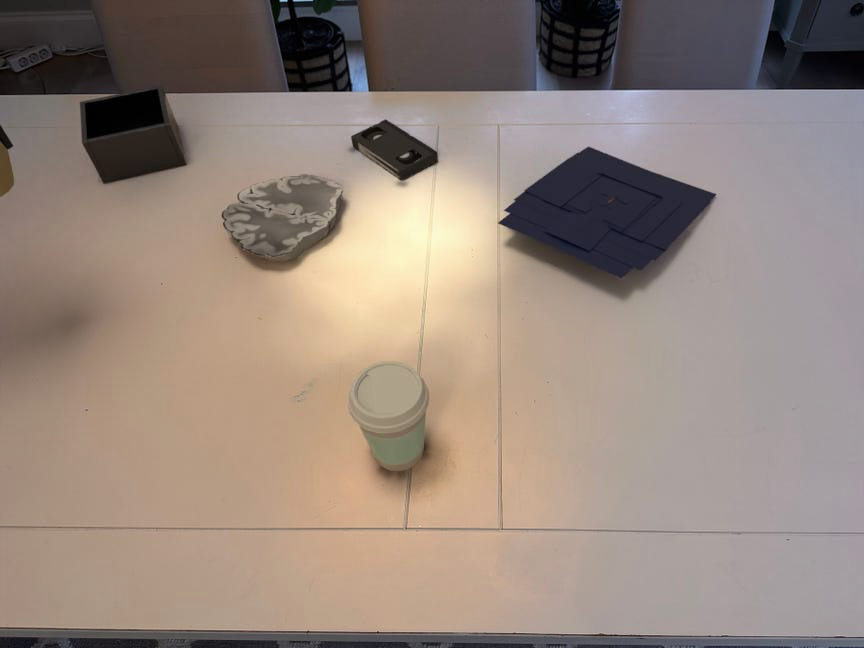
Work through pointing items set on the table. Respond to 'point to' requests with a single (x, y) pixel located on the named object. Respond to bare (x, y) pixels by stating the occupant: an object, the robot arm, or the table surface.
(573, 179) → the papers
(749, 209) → the table surface
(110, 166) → the box
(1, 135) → the robot arm
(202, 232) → the table surface
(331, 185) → the brain slice
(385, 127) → the vhs tape
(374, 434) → the coffee cup
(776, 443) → the table surface
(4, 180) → the squeeze bottle
